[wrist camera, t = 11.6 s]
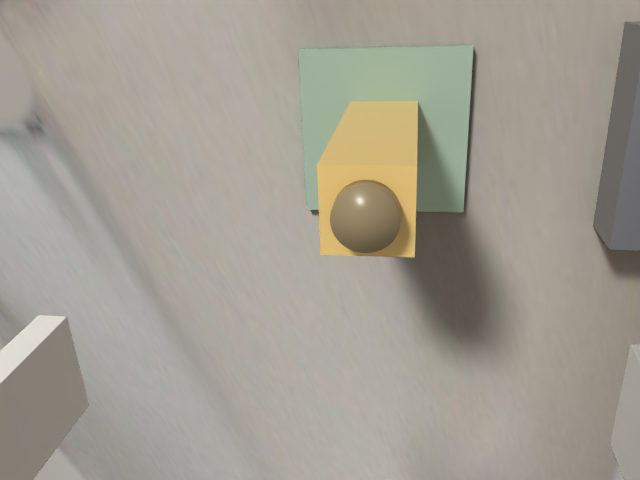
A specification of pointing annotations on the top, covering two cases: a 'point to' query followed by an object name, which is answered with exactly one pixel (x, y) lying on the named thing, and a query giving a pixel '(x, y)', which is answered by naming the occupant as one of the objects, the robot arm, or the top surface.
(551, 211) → the top surface
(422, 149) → the mat
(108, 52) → the top surface
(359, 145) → the plug
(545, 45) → the top surface
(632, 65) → the grey block with hole
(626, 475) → the robot arm
